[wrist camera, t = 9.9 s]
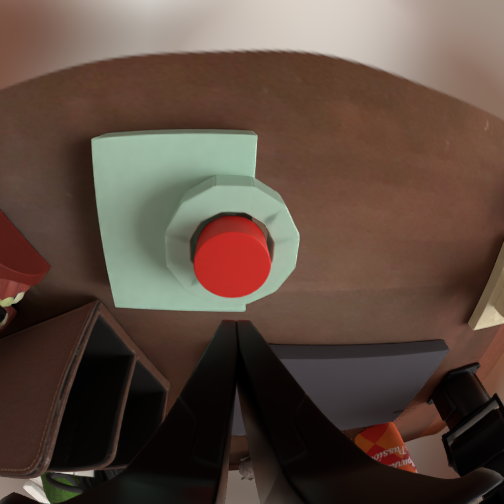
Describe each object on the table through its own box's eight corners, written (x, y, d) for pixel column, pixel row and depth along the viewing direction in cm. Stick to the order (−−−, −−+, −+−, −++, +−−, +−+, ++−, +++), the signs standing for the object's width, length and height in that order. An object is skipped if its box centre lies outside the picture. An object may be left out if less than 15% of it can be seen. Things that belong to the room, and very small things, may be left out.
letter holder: (-18, 343, 21) (-68, 442, 8) (101, 294, 19) (27, 487, 6) (39, 402, 25) (9, 498, 13) (172, 381, 23) (160, 539, 11)
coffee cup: (412, 413, 32) (448, 501, 19) (382, 442, 36) (409, 521, 23) (363, 421, 31) (397, 524, 18) (335, 449, 34) (358, 538, 21)
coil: (138, 470, 34) (153, 518, 28) (33, 427, 22) (38, 496, 15) (174, 457, 35) (193, 508, 28) (70, 410, 23) (79, 488, 16)
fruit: (102, 454, 32) (91, 522, 21) (54, 437, 30) (38, 503, 20) (97, 433, 29) (82, 515, 18) (42, 414, 27) (20, 489, 16)
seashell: (225, 458, 33) (224, 481, 30) (270, 438, 32) (271, 463, 28) (248, 469, 35) (248, 491, 31) (292, 450, 33) (295, 473, 29)
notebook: (443, 339, 25) (227, 341, 22) (450, 349, 23) (227, 357, 20) (390, 411, 31) (215, 422, 28) (394, 421, 29) (215, 435, 26)
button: (269, 216, 13) (274, 232, 12) (263, 277, 15) (267, 298, 13) (196, 214, 13) (192, 230, 11) (197, 276, 15) (194, 297, 13)
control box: (292, 133, 15) (312, 144, 12) (274, 290, 20) (284, 332, 16) (106, 132, 14) (73, 144, 11) (123, 287, 19) (106, 327, 15)
